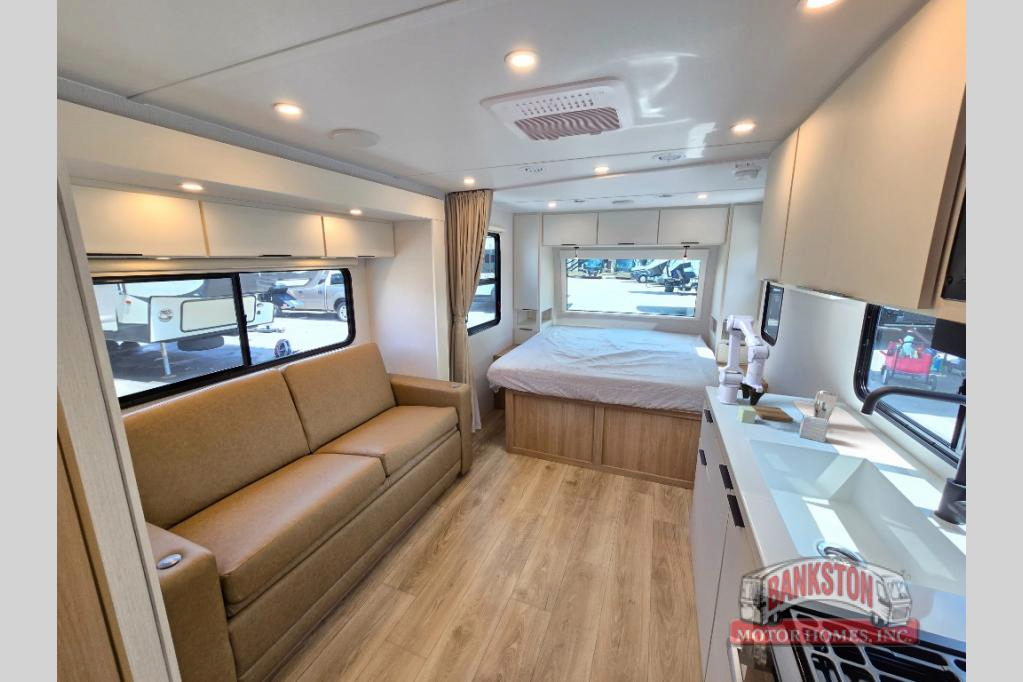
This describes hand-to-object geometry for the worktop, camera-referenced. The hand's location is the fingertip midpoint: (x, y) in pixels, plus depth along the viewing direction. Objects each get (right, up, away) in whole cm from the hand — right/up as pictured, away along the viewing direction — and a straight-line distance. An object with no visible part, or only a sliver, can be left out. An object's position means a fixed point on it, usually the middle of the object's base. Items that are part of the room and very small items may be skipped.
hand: (749, 401), depth 157 cm
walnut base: (+15, -8, +8) cm, 19 cm away
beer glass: (+31, -10, 0) cm, 33 cm away
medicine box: (+17, -13, -12) cm, 25 cm away
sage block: (0, -9, +2) cm, 9 cm away
